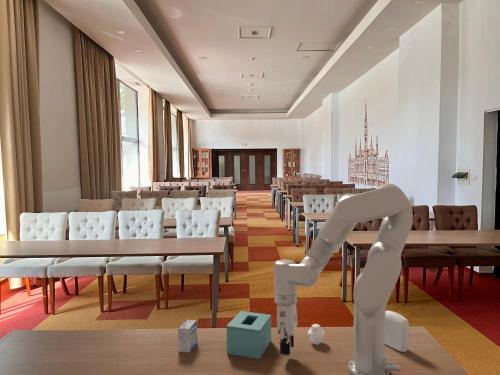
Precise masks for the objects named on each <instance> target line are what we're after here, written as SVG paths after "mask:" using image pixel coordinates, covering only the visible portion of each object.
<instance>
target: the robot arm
mask: <svg viewBox="0 0 500 375" xmlns="http://www.w3.org/2000/svg"><path fill="white" fill-rule="evenodd" d="M333 207H334V208H333V209H332V211H331V212H330V214H329V215H328V217H327V218H326V220H325V221H324V223H323V224H322V226H321V227H320V229H319V231H318V233H317V235H316V238H315V239H314V242H313V244H312V245H311V246H310V248H309V249H308V251H307V252H306V254H305V256H304V257H303V258H302V259H301V261H300V263H298V264H297V263H296V262H295V260H292V259H279V260H277V261H274V264H273V283H274V284H273V286H274V294H273V295H274V303H275V304H276V306H277V308H276V331H277V334H278V335H279V351H280V352H279V354H280V355H283V354H284V355H289V356H290V355H291V352H290V343H289V335H290V336H291V335H292V348H294V347H295V342H294V340H295V339H294V338H295V336H294V332H295V331H296V328H297V327H298V314H297V313H298V312H297V303H298V287H297V286H299V287H304V288H305V287H306V288H310V287H312V286H315V285H316V284H317V283H318V280H319V277H320V275H321V273H323V272H322V271H323V270H324V269H325V267H326V266H327V264H328V262H329V261H330V259H331V258H332V256H333V255H334V254H335V253H336V251H338V250H339V249H341V247H342V246H343V245H344V243H345V242H346V240H347V239H348V238H349V236H350V235H351V233H352V232H353V230H354V229H355V228H356V226H357V224H361V223H365V222H369V221H370V222H371V221H375V220H378V219H382V221H381V224H380V225H379V228H378V232H377V234H376V236H375V239H374V241H373V242H372V244H371V247H370V249H369V250H368V253H367V259H366V262H365V265H364V268H363V270H362V272H361V273H360V274H358V276H357V277H356V278H355V281H354V284H353V295H352V296H353V350H352V352H353V358H352V359H351V360H350V361H348V364H347V369H348V371H349V372H350V373H351V374H352V375H390V371H392V372H398V373H400V372H401V365H400V364H396V361H394V360H388V359H386V358H387V356H386V354H385V351H386V344H385V313H386V311H387V310H386V308H387V307H386V306H387V303H388V301H389V300H390V297H391V294H393V290H394V289H395V287H396V284H397V281H399V280H398V279H399V277H400V275H401V271H402V264H403V263H402V258H401V256H402V253H403V250H404V249H405V246H406V243H407V240H408V237H409V235H410V232H411V230H412V227H413V226H412V225H413V220H414V219H413V217H414V215H413V207H412V205H411V201H410V200H409V198H408V197H407V195H406V193H405V192H404V191H403V190H402V189H401V187H399V186H398V185H396V184H394V183H384V184H382V185H380V186H379V187H378V188H375V189H371V190H368V191H364V192H360V193H346V194H344V195H342V196H341V197H340V199H339V200H338V201H337V203H336V204H335V206H333ZM285 336H287V339H286V337H285Z"/></svg>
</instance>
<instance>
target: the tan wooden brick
mask: <svg viewBox="0 0 500 375" xmlns="http://www.w3.org/2000/svg"><path fill="white" fill-rule="evenodd" d="M285 337H286V339H287V336H285ZM289 343H290V353H291V352H292V351H293V347H292V335H291V336H290V335H289ZM282 356H283V357H289V356H290V355H284V354H282Z"/></svg>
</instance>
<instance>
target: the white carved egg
mask: <svg viewBox="0 0 500 375" xmlns="http://www.w3.org/2000/svg"><path fill="white" fill-rule="evenodd" d="M307 335H308V338H309V340H310V342H311V344H313V345H317V346H318V345H320V344H321V343H322V342H323V340H324V338H325V335H326V332H325V331H324V329H323V328H322V326H321V325H320V324H319V323H314V324H312V325H311V327H310V329H309V330H307Z"/></svg>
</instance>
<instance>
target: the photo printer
mask: <svg viewBox="0 0 500 375" xmlns="http://www.w3.org/2000/svg"><path fill="white" fill-rule="evenodd" d="M409 333H410V322H409V320H408V319H407V318H406V317H405V316H403V315H402V314H400V313H398V312H396V311H392V310H386V313H385V346H388V347H390V348H392V349H394V350H396V351H398V352H401V353H406V352H407V351H408V349H409V336H410V335H409Z"/></svg>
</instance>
